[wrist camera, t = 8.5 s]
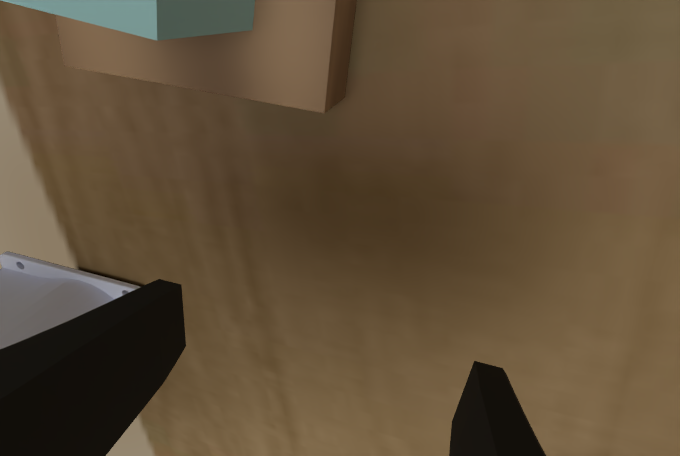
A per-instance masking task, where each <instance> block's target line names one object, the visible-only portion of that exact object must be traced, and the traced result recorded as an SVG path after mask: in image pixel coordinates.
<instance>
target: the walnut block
mask: <svg viewBox="0 0 680 456" xmlns="http://www.w3.org/2000/svg"><path fill="white" fill-rule="evenodd" d="M356 1H357V0H255V6H254V18H253V29H252V30H249V31H240V32H231V33H222V34H213V35H204V36H195V37H186V38H176V39H167V40H158V41H157V40H153V39H149V38H145V37H141V36H137V35H133V34H129V33H126V32H122V31H118V30H114V29H110V28H106V27H102V26H98V25H95V24H91V23H87V22H83V21H79V20H75V19H71V18H67V17H63V16H60V15H56V14H55V17H56V22H57V28H58V33H59V39H60V45H61V50H62V56H63V61H64V66H68V67H73V68H79V69H84V70H90V71H95V72H101V73H106V74H112V75H117V76H123V77H128V78H134V79H139V80H145V81H150V82H155V83H161V84H166V85H172V86H177V87H183V88H188V89H194V90H199V91H205V92H210V93H216V94H221V95H227V96H232V97H238V98H243V99H249V100H254V101H260V102H265V103H271V104H276V105H282V106H287V107H293V108H298V109H304V110H309V111H315V112H320V113H325V112H326V111H328V110H329V109H330V108H332V107H333V106H334V105H335V104H337V103H338V102H339V101H341V100H342V99H343V98H344V97H345V91H346V83H347V75H348V67H349V59H350V51H351V42H352V34H353V26H354V18H355V10H356Z"/></svg>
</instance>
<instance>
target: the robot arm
mask: <svg viewBox="0 0 680 456" xmlns="http://www.w3.org/2000/svg"><path fill="white" fill-rule="evenodd" d="M0 263H1V266H2V268H1V269H0V456H106V454H107V453H108V452H109V451H110V449H111V448H112V447H113V446H114V444H115V443H116V442H117V441H118V439H119V438H120V437H121V436H122V434H123V433H124V432H125V430H126V429H127V428H128V427H129V426H130V424H131V423H132V422H133V421H134V419H135V418H136V417H137V416H138V414H139V413H140V412H141V411H142V409H143V408H144V407H145V406H146V404H147V403H148V402H149V401H150V399H151V398H152V397H153V395H154V394H155V393H156V392H157V390H158V389H159V388H160V386H161V385H162V384H163V382H164V381H165V380H166V378H167V376H168V375H169V373H170V372H171V370H172V368H173V367H174V365H175V364H176V362H177V360H178V358H179V357H180V355H181V353H182V352H183V350H184V348H185V347H186V341H185V328H184V314H183V301H182V288H181V285H180V284H176V283H173V282H169V281H165V280H161V279H158V280H156V281H154V282H151V283H149V284H147V285H144V286H142V287H139V286H137V285H133V284H129V283H126V282H122V281H118V280H114V279H111V278H107V277H103V276H99V275H95V274H92V273H88V272H84V271H80V270H77V269H73V268H69V267H65V266H61V265H58V264H54V263H50V262H46V261H42V260H39V259H35V258H31V257H28V256H24V255H20V254H16V253H12V252H5V253H3V254H1V255H0ZM449 456H546V455H545V453H544V451H543V449H542V447H541V445H540V444H539V442H538V440H537V438H536V436H535V434H534V432H533V430H532V428H531V426H530V424H529V422H528V420H527V418H526V416H525V414H524V412H523V410H522V407H521V405H520V403H519V401H518V399H517V397H516V395H515V392H514V390H513V388H512V386H511V384H510V381H509V379H508V377H507V375H506V373H505V371H504V370H503V368H500V367H496V366H492V365H488V364H484V363H480V362H476V361H474V363H473V366H472V369H471V372H470V374H469V377H468V380H467V382H466V385H465V388H464V391H463V393H462V396H461V399H460V401H459V404H458V407H457V410H456V412H455V415H454V418H453V420H452V429H451V441H450V454H449Z"/></svg>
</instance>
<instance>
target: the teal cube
mask: <svg viewBox="0 0 680 456" xmlns="http://www.w3.org/2000/svg"><path fill="white" fill-rule="evenodd" d="M1 1H5V2H9V3H13V4H17V5H21V6H25V7H28V8H32V9H36V10H40V11H44V12H48V13H52V14H56V15H60V16H63V17H67V18H71V19H75V20H79V21H83V22H87V23H91V24H95V25H98V26H102V27H106V28H110V29H114V30H118V31H122V32H126V33H129V34H133V35H137V36H141V37H145V38H149V39H153V40H157V41H158V40H167V39H176V38H186V37H195V36H204V35H213V34H222V33H231V32H240V31H249V30H252V29H253V18H254V6H255V0H1Z"/></svg>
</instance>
